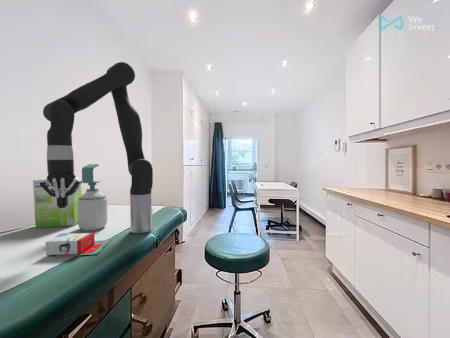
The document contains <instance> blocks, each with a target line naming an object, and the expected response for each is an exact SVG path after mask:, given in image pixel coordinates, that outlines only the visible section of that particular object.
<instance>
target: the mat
mask: <svg viewBox="0 0 450 338" xmlns="http://www.w3.org/2000/svg"><path fill="white" fill-rule="evenodd" d="M110 242H112V240H111V239H108V240H107V239H105V240H104V239H103V240H102V239H101V240H94V245H98V244H102V243H103V244H105V243H107V244H108V243H109V244H110ZM109 244H108V245H109ZM77 255H80V254H66V255H54V259H62V257H64V258H73V257H72V256H77ZM77 257H78V256H77Z"/></svg>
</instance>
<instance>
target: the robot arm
mask: <svg viewBox="0 0 450 338" xmlns="http://www.w3.org/2000/svg"><path fill="white" fill-rule="evenodd" d="M135 78H136V72H135V70H134V68H133V66H131V64H129V63H127V62H124V61H123V62H122V61H118V62H116V63H115V64H113V65H112V66H110V67H109V68H108V69H107V70H106V73H104V74H103V75H101V76H99V77H97V78H96V79H94V80H91V81H90V82H89V81H88V82H87V83H85V84H83V85H81V86H79V87H77V88H75V89H74V90H72V91H70V92H69V93H68V94H65V95H64V96H62V97H59V98H58V99H55V100H54V101H51V102H49V103H47V104H46V105H44V107H43V110H42V114H43V117H44V118H45V119H46V120H47V121H49V122H50V125H49V126H50V127H49V129H48V130H47V132H46V144H47V147H46V164H47V165H46V167H47V168H46V169H47V176H46V178H47V179H46V180H45V181H44V182H41V183H40V186H41V187H42V188H43V189H44V190H45V191H46V192H47V193H48V194H49V195H50V196H54V197H56V198H57V206H58V207H59V208H65V207H66V206H68V196H70V195H72V194H74V193H75V191H76V190H77V189H78V188H79V186H80V185H81V186H82V184H83V182H82V180H81V181H79V180H78V179H76V177H77V176H76V175H75V163H74V162H75V161H74V150H73V135H72V134H73V133H72V132H73V129H74V124H75V114H76V113H78V112H80V111H84V110H86V109H88V108H89V107H90V106H92V105H93V104H95V103H96V102H98V101H100V100H101V99H102V98H104V97H105V96H106V95H108V94H109V93H111V95H112V99H113V104H114V108H115V111H116V116H117V121H118V126H119V130H120V134H121V138H122V141H123V145H124V148H125V152H126V153H125V154H126V160H127V170H128V172H129V175H130V176H131V186H130V189H129V198H130V199H129V200H130V201H129V204H130V205H129V206H130V207H129V209H130V213H129V214H130V215H129V216H130V233H132V234H144V233H150V232H152V230H153V223H154V222H153V221H154V220H153V207H152V190H153V186H154V185H153V184H154V183H153V181H154V180H153V179H154V172H153V171H154V170H153V165H152V164H151V161H149V160H147V159H146V158H145V155H144V151H143V127H142V123H141V122H142V121H141V117H140V115H139V112H138V110H137V109H136V107H135V106H134V105H133V103H132V102H131V99H130V98H129V93H128V86H129V85H130V84H132V83H133V82H134V81H135ZM72 182H73V186H72V187H71V189H70V190H69V186H70V185H71V184H72ZM50 183H51V184H50ZM50 185H52V186H53V187H54V189H53V188H52V187H51V186H50Z"/></svg>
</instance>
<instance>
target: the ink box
mask: <svg viewBox="0 0 450 338" xmlns="http://www.w3.org/2000/svg"><path fill="white" fill-rule="evenodd" d="M94 241H95V232H89V233H88V232H85V233H61V234H59V235H56V236H54V237H53V238H50V239H48V240H45V254H46V256H57V255H66V254H85V253H92V252H94V251H95V250H96V249H98V248H99V247H100V246H101V245H102V244H98V245H94ZM93 248H95V249H93ZM92 249H93V250H92Z"/></svg>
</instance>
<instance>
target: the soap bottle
mask: <svg viewBox="0 0 450 338" xmlns="http://www.w3.org/2000/svg"><path fill="white" fill-rule="evenodd" d="M98 166H100V165H99V163H89V164H87V165H84V166H83V167H82V169H81V181H82V184H87V185H88V186H89V188H87V189H86V190H85V191H86V192H84V193H83V194H82V195H81V197H79V198H78V199H79V200H78V202H77V205H78V223H77V225H78V228H79V229H80V230H82V231H84V232H90V231H91V232H92V231H98V230H100V229H101V230H102V229H103V228H104V227H105V226H106V225H107V223H108V199H107V195H105V194H104V193H103V192H100V191H99V188H96V186H97V183H101V181H99V180H98V181H96V180H95V181H94V170H95V168H97V167H98Z"/></svg>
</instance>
